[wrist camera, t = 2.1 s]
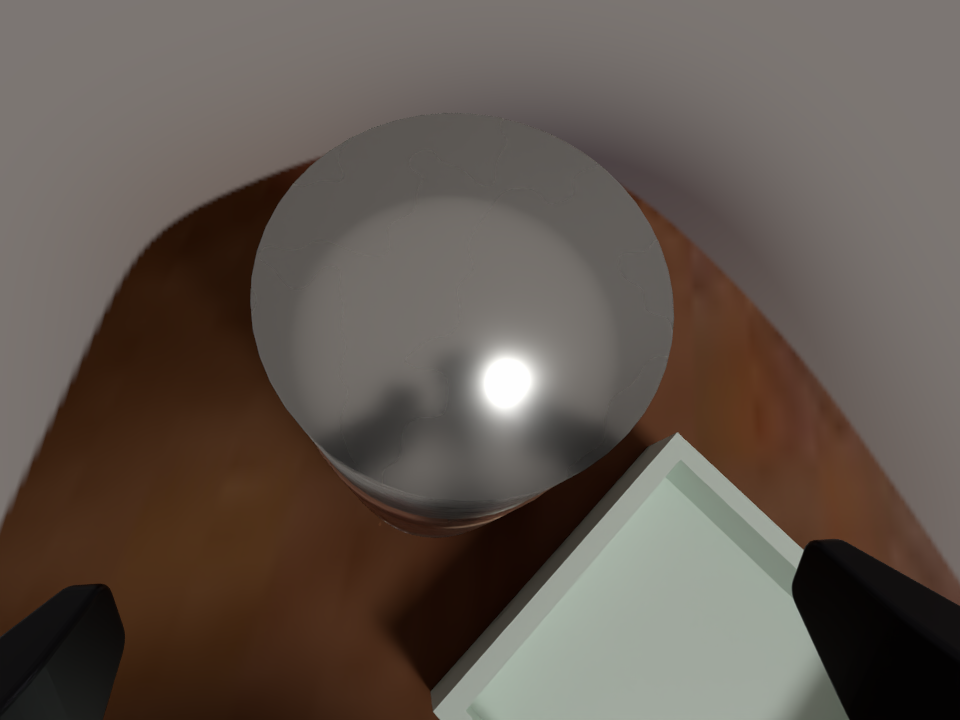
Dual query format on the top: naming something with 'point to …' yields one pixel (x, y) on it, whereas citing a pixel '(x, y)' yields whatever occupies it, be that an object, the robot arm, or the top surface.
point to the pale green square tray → (652, 614)
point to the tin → (460, 316)
